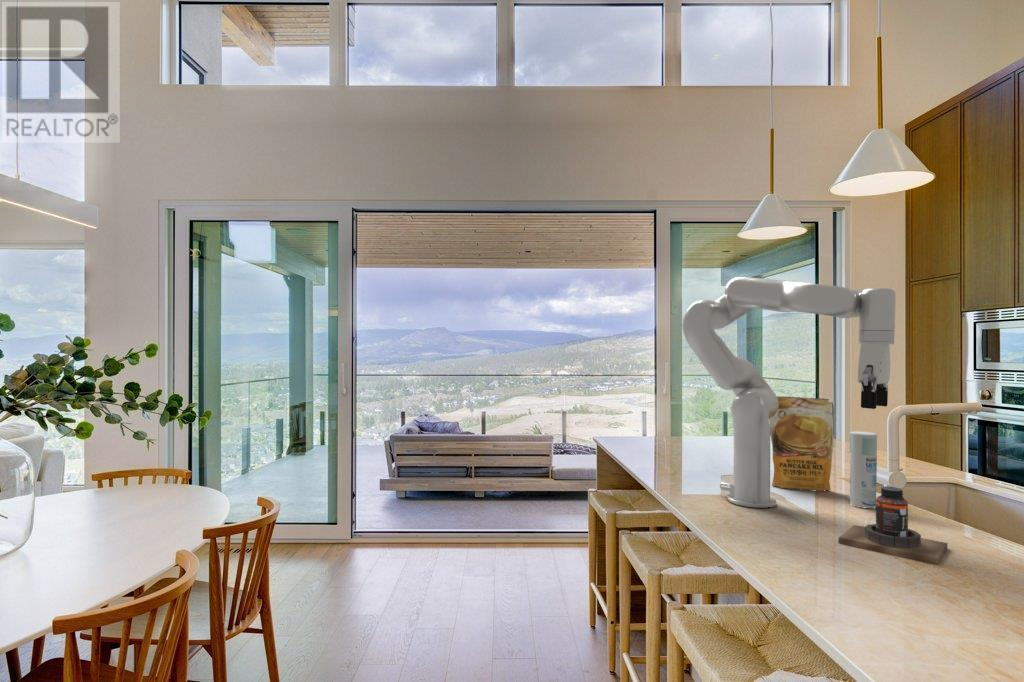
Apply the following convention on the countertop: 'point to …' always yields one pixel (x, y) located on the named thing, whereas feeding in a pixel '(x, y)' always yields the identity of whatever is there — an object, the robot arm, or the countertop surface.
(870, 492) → the spray can
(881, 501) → the supplement bottle
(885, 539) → the bottle holder
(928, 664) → the countertop surface
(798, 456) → the pancake mix bag
